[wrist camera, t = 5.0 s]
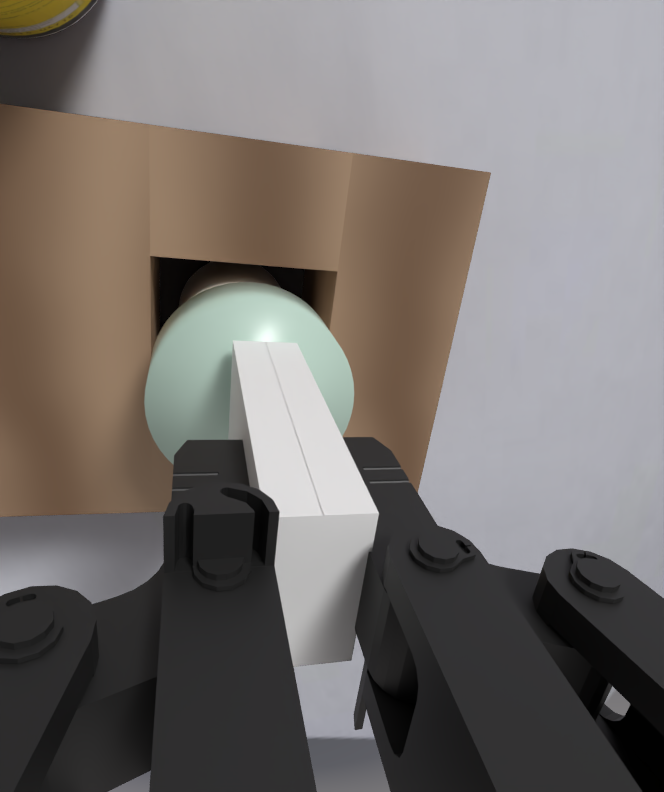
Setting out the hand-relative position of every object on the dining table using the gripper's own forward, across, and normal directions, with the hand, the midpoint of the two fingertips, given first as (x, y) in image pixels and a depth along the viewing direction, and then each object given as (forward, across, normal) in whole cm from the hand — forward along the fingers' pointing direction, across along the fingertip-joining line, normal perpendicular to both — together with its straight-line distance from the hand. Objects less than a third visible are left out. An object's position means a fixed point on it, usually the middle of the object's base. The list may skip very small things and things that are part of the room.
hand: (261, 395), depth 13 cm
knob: (+8, 0, 0) cm, 8 cm away
